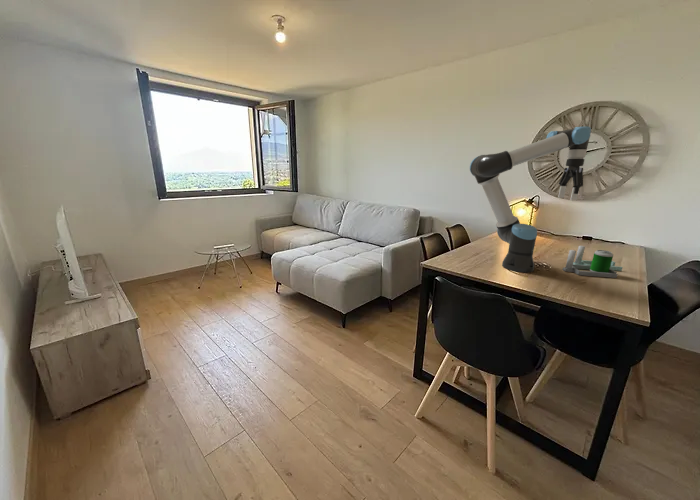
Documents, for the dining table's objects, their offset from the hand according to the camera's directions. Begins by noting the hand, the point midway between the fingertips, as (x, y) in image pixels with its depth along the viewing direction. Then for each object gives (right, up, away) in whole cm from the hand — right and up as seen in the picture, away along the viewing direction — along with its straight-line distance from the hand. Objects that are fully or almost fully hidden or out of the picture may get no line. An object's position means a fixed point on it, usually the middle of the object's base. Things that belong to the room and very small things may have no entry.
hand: (566, 198), depth 158 cm
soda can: (+11, -41, -7) cm, 43 cm away
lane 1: (+6, -40, -6) cm, 41 cm away
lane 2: (+18, -37, +3) cm, 42 cm away
